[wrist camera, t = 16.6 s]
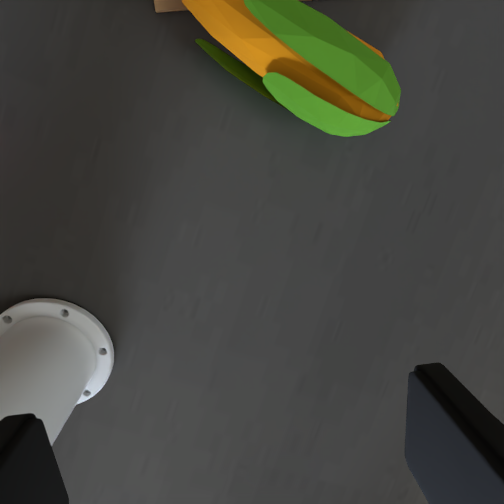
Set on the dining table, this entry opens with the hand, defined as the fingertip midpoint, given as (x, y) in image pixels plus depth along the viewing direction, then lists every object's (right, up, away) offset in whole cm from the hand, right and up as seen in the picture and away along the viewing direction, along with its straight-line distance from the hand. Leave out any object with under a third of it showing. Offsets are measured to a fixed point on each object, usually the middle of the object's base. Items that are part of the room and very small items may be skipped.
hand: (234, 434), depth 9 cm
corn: (+3, +21, +21) cm, 30 cm away
